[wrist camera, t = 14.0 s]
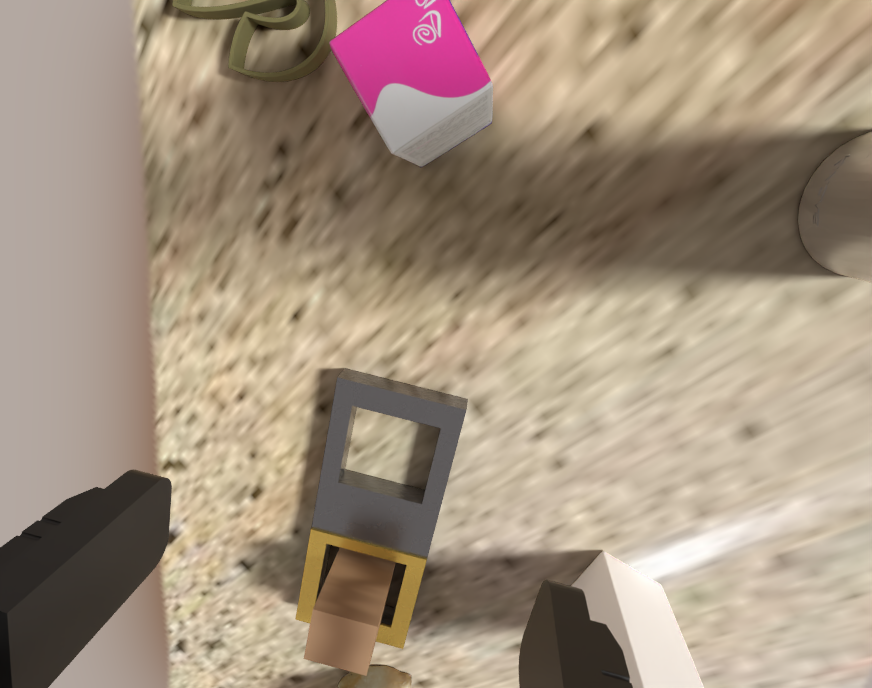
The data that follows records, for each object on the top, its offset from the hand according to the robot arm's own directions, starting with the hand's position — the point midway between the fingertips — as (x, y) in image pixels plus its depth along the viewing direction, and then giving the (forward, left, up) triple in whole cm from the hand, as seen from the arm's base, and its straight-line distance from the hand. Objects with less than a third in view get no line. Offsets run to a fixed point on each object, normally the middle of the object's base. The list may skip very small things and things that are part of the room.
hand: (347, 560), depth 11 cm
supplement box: (+4, -12, -28) cm, 31 cm away
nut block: (+2, +26, -28) cm, 39 cm away
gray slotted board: (+2, +20, -28) cm, 35 cm away
